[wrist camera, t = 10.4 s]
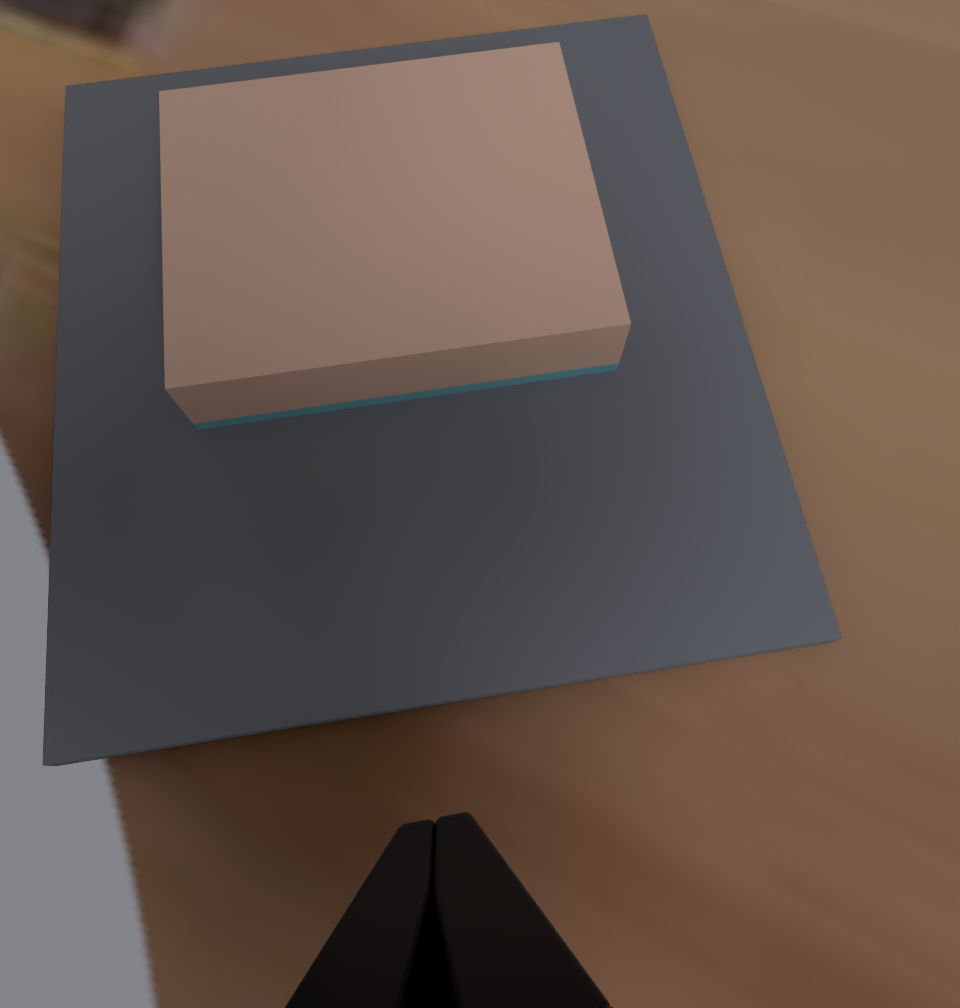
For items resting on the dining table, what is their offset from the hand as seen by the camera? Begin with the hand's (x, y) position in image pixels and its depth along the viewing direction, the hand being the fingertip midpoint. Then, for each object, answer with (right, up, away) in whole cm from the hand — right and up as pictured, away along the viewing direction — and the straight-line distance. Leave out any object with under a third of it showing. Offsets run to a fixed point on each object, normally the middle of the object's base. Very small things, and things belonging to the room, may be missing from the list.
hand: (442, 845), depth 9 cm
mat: (-2, +9, +15) cm, 17 cm away
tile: (-2, +7, +12) cm, 14 cm away
